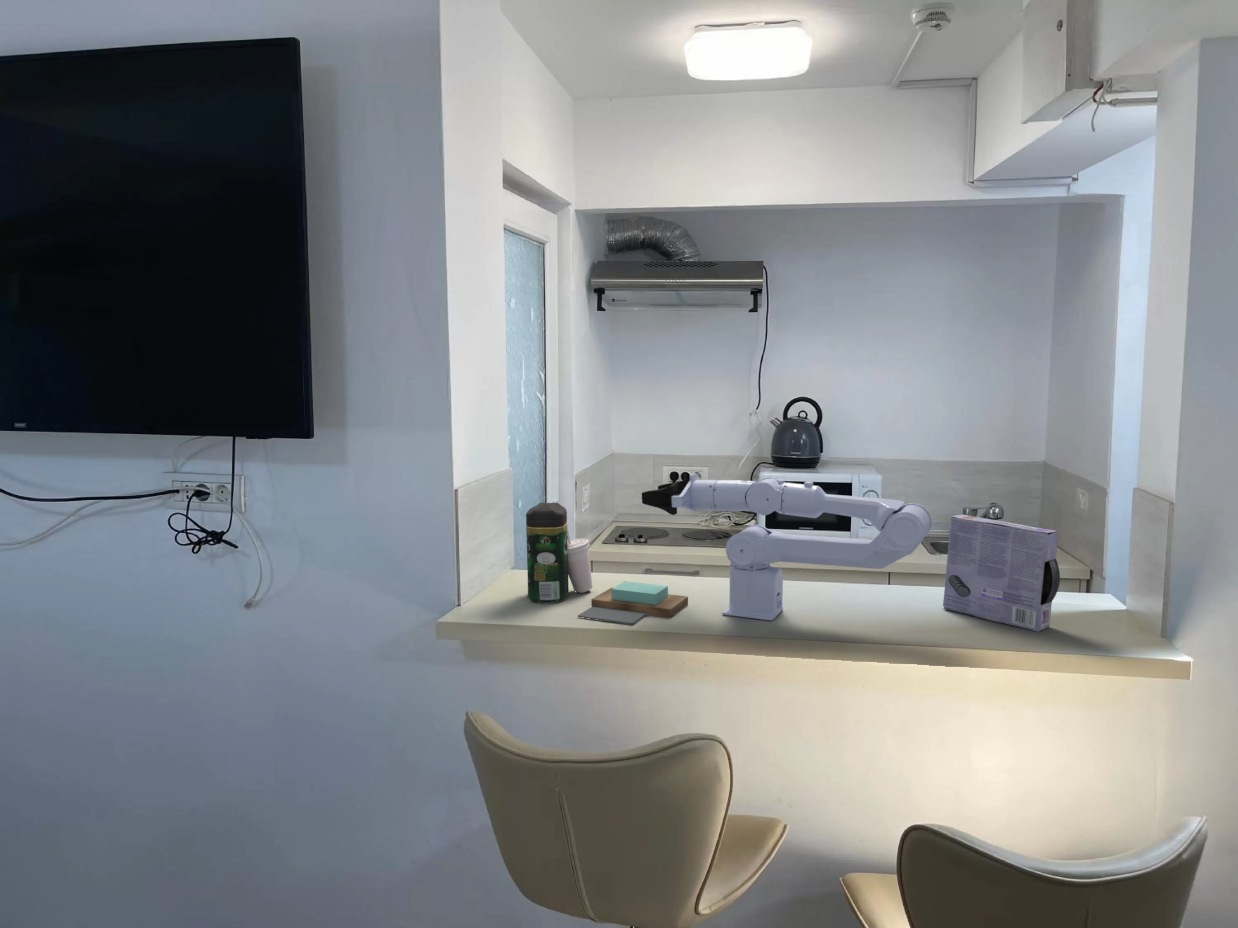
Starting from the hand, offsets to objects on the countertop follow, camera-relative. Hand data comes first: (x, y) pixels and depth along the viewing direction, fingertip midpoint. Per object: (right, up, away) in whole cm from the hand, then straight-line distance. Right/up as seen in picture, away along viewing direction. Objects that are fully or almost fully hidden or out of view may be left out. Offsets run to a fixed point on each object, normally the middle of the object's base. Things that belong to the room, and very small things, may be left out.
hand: (650, 494), depth 176 cm
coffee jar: (-20, -21, +5) cm, 29 cm away
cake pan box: (+62, -22, -10) cm, 67 cm away
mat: (-7, -22, -8) cm, 24 cm away
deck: (-2, -21, -1) cm, 21 cm away
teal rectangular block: (-2, -19, -2) cm, 20 cm away
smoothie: (-13, -19, +9) cm, 25 cm away
